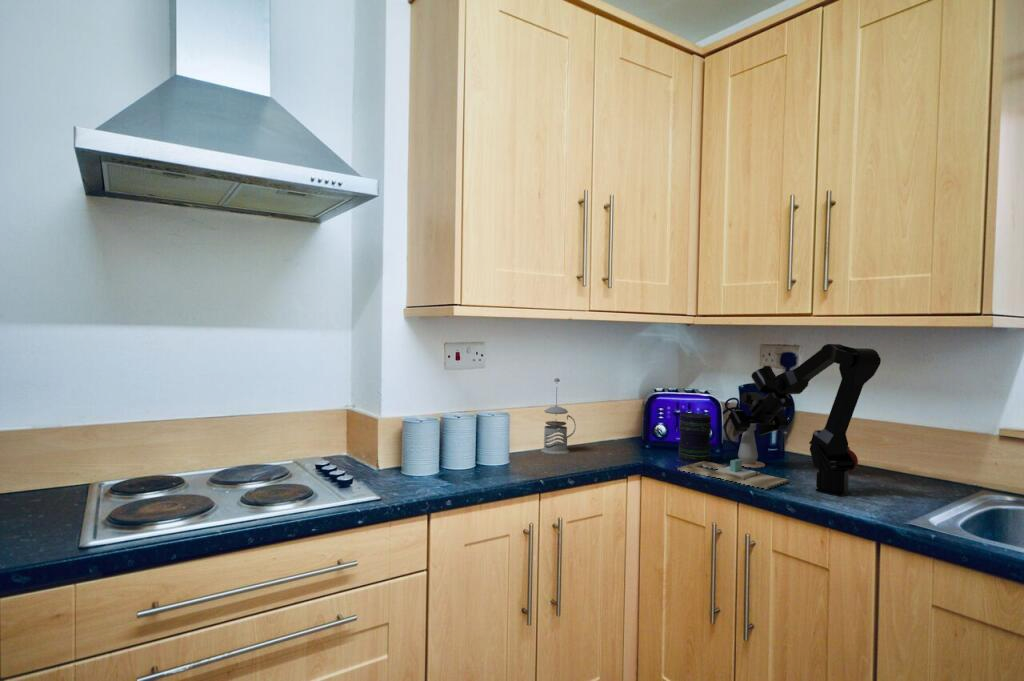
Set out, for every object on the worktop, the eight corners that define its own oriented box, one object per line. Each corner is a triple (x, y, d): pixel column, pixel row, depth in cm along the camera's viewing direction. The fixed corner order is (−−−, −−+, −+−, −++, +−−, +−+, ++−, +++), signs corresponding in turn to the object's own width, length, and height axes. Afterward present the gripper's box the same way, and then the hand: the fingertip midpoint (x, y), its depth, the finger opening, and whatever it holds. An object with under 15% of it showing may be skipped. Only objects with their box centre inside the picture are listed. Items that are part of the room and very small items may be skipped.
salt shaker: (743, 465, 180) (744, 423, 180) (734, 461, 186) (735, 420, 186) (761, 465, 181) (762, 423, 181) (751, 461, 187) (753, 420, 187)
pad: (770, 465, 183) (770, 463, 183) (755, 469, 177) (755, 468, 177) (740, 459, 191) (740, 458, 191) (725, 463, 184) (725, 462, 184)
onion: (856, 476, 171) (857, 449, 171) (834, 472, 175) (834, 446, 175) (858, 472, 176) (859, 446, 176) (837, 469, 179) (837, 443, 179)
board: (788, 482, 162) (788, 476, 162) (767, 489, 153) (767, 483, 153) (700, 464, 182) (700, 459, 182) (677, 470, 173) (677, 464, 173)
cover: (755, 474, 166) (756, 460, 166) (742, 479, 161) (743, 464, 161) (729, 469, 172) (730, 456, 172) (715, 473, 167) (716, 459, 167)
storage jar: (673, 460, 186) (674, 414, 186) (686, 456, 194) (687, 412, 194) (702, 466, 180) (704, 418, 180) (715, 461, 187) (716, 415, 187)
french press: (541, 447, 203) (543, 376, 203) (574, 449, 202) (576, 377, 202) (540, 453, 194) (541, 378, 193) (575, 454, 192) (576, 379, 192)
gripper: (783, 384, 182) (758, 414, 193) (733, 384, 177) (710, 415, 188) (801, 412, 175) (774, 442, 186) (750, 413, 170) (725, 444, 180)
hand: (745, 435), depth 185 cm, fingers open, 9 cm apart
